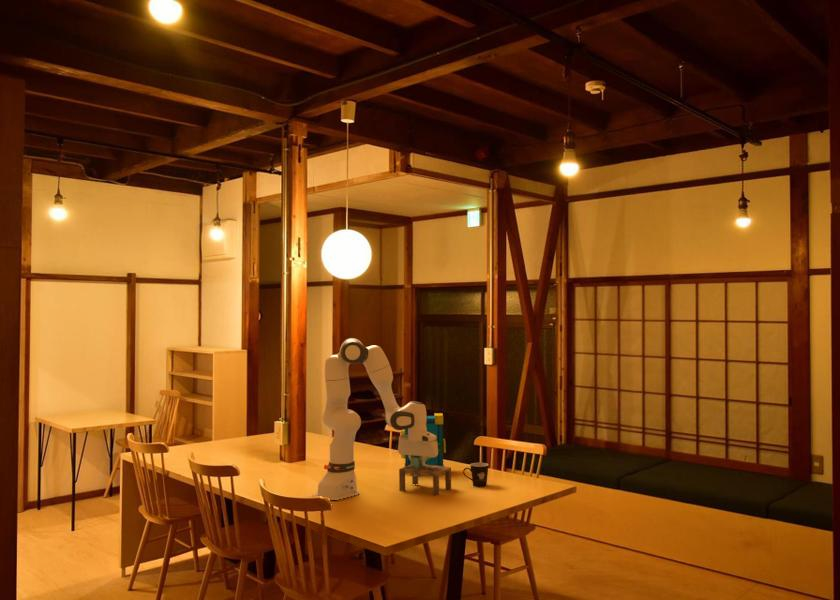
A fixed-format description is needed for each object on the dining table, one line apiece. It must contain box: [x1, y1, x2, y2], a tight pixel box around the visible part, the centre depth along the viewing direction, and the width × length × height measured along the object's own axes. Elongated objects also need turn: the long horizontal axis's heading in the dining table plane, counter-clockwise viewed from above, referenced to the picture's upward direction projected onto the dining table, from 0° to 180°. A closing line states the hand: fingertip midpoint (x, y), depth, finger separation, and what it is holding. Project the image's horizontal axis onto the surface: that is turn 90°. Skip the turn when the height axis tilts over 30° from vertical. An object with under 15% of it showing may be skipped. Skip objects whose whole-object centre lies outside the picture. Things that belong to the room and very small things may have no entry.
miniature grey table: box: [398, 464, 452, 496], centre depth 318 cm, size 20×14×10 cm
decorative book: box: [400, 412, 447, 476], centre depth 353 cm, size 14×23×30 cm, turn 90°
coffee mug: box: [462, 462, 489, 488], centre depth 325 cm, size 12×9×10 cm
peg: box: [411, 456, 425, 478], centre depth 320 cm, size 6×4×9 cm, turn 150°
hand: (417, 465), depth 320 cm, fingers closed on peg, 4 cm apart
